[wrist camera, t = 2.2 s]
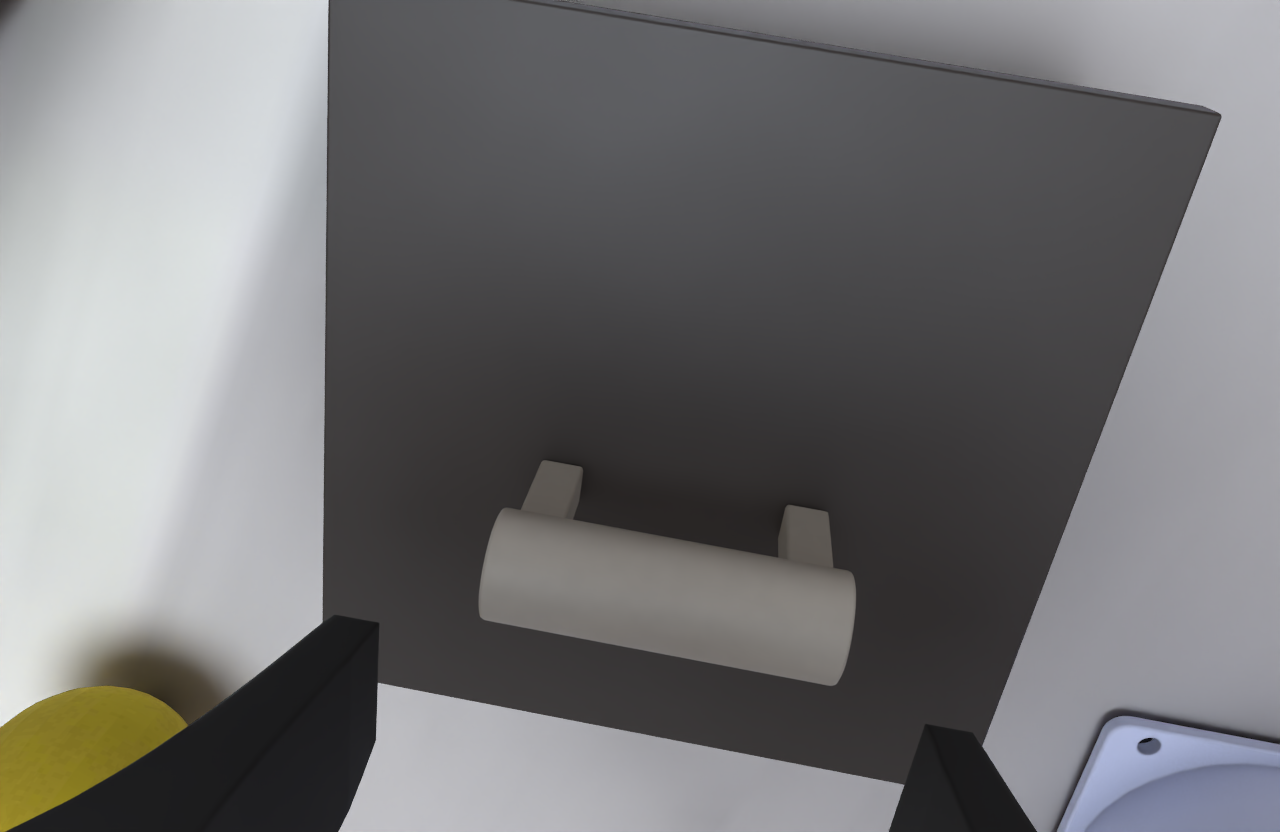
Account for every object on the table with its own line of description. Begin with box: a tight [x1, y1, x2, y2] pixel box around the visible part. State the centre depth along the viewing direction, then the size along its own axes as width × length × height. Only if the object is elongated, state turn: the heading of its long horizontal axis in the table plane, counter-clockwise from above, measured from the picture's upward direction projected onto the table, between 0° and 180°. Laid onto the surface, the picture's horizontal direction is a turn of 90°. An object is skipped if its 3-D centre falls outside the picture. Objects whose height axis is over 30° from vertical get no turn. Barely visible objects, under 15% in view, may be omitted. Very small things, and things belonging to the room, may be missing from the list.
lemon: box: [0, 686, 188, 832], centre depth 25 cm, size 6×6×8 cm
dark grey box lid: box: [323, 0, 1221, 785], centre depth 15 cm, size 12×12×4 cm
